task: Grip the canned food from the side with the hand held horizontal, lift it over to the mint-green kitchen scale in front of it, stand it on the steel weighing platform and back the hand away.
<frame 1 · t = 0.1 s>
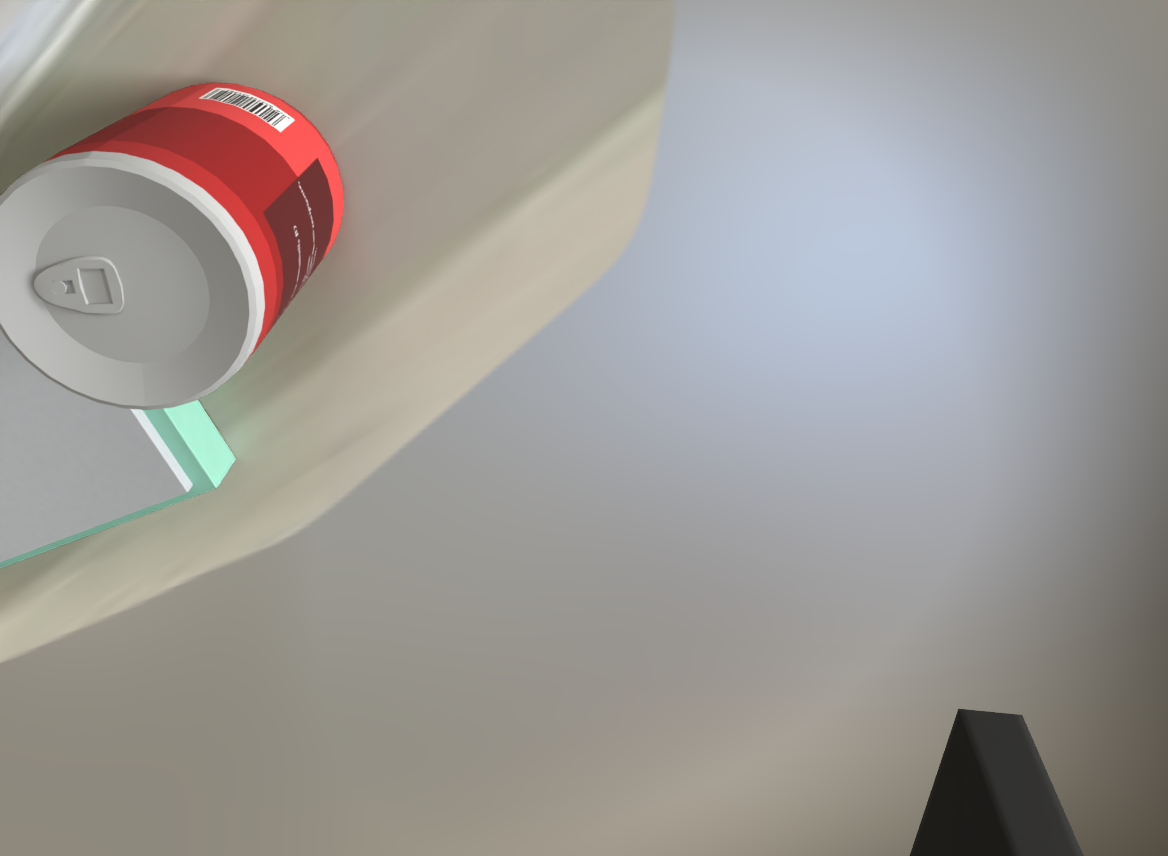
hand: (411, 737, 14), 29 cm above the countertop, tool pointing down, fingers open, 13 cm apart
scale: (26, 403, 46), on the countertop
canned food: (243, 182, 41), on the countertop
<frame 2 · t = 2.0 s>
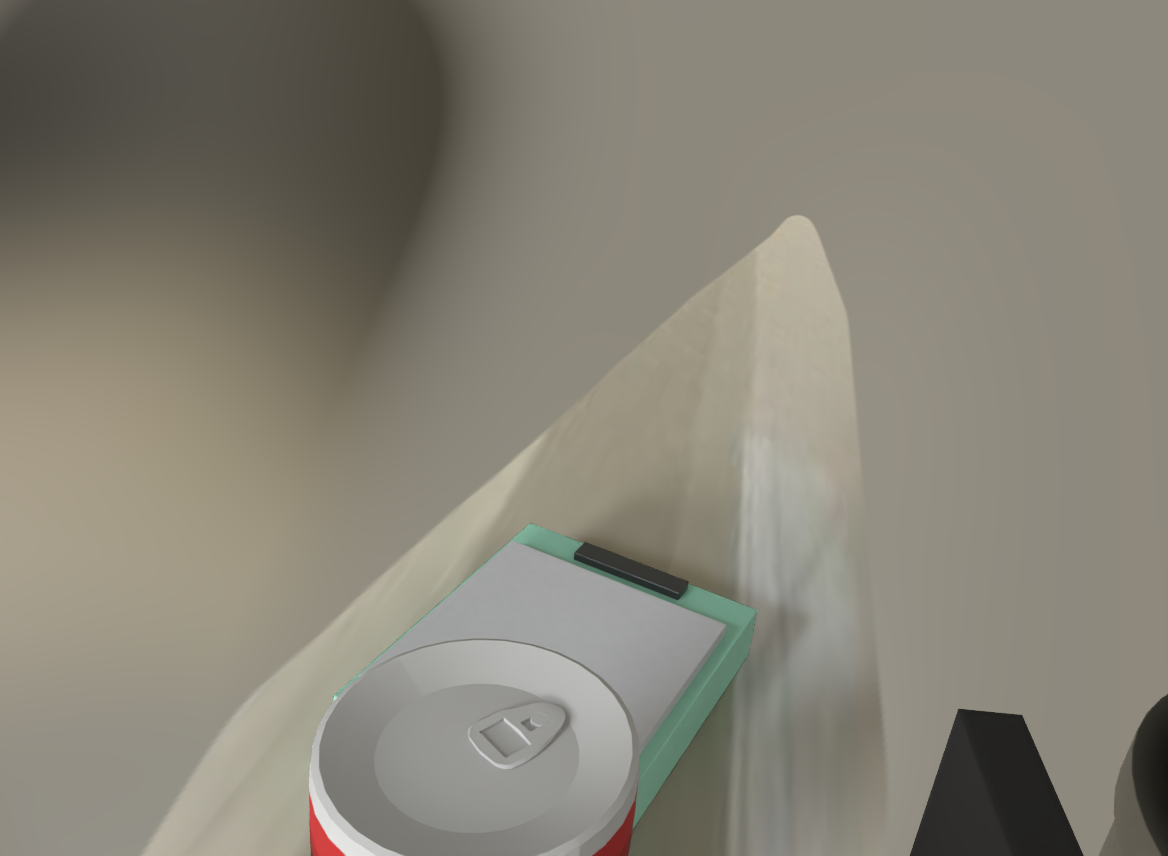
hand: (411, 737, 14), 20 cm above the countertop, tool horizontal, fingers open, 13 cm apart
scale: (556, 696, 44), on the countertop
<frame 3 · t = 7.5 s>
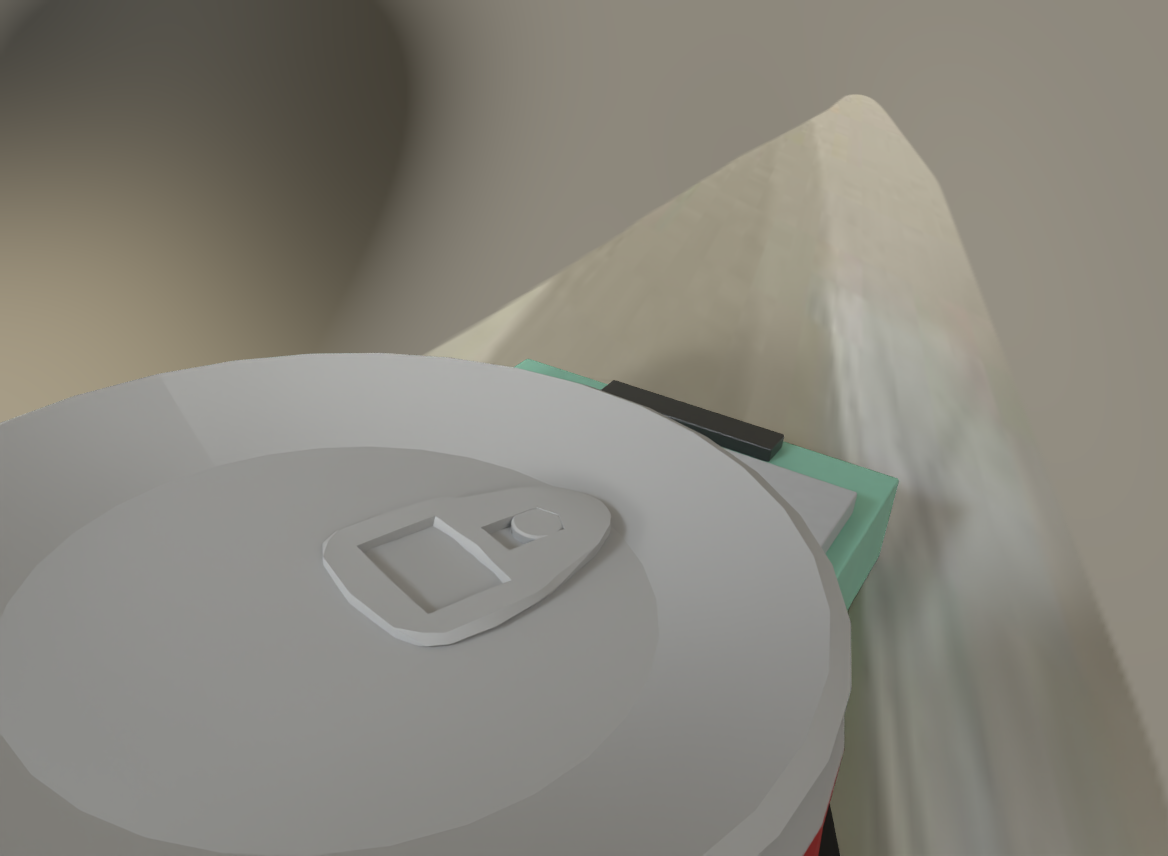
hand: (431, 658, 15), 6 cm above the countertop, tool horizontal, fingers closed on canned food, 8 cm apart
scale: (569, 612, 26), on the countertop
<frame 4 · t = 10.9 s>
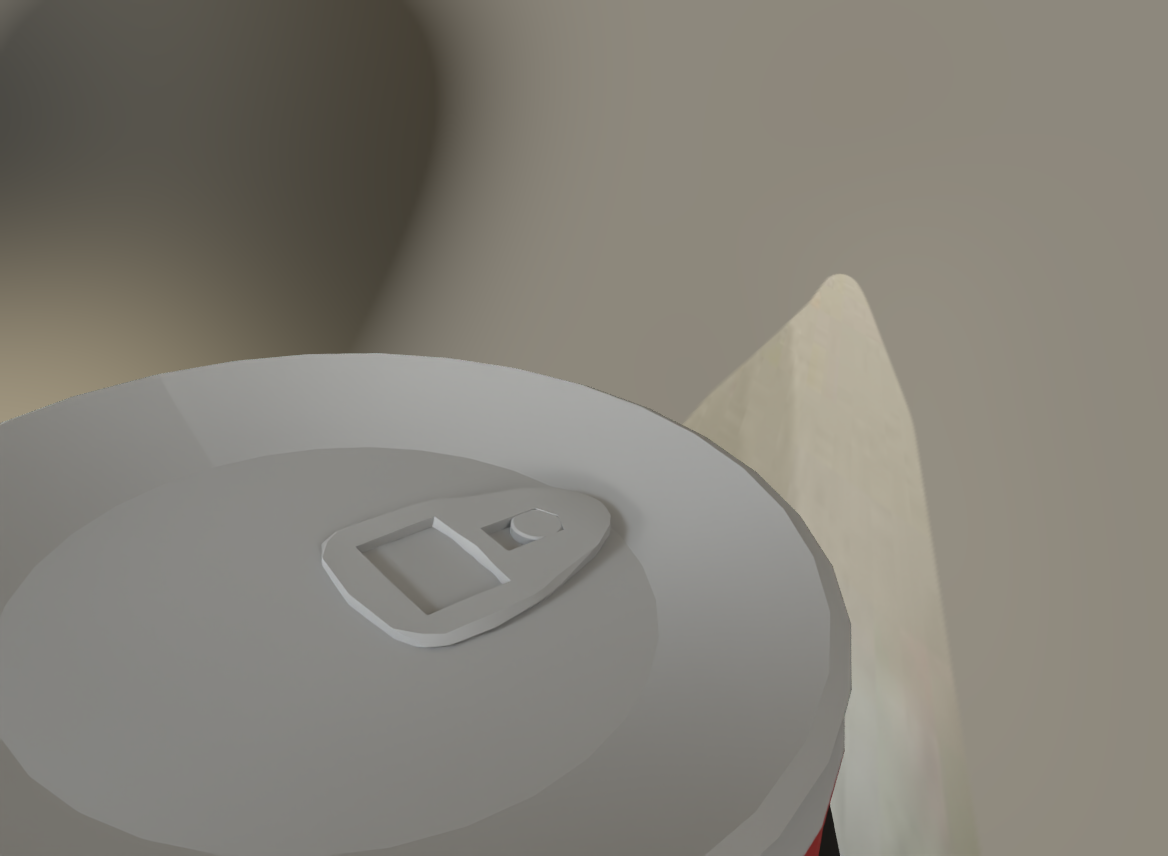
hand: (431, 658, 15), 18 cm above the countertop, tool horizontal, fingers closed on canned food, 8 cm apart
when the fingers open (9 cm above the countertop, at t = 14.6 s): canned food stays where it is, resting on scale.
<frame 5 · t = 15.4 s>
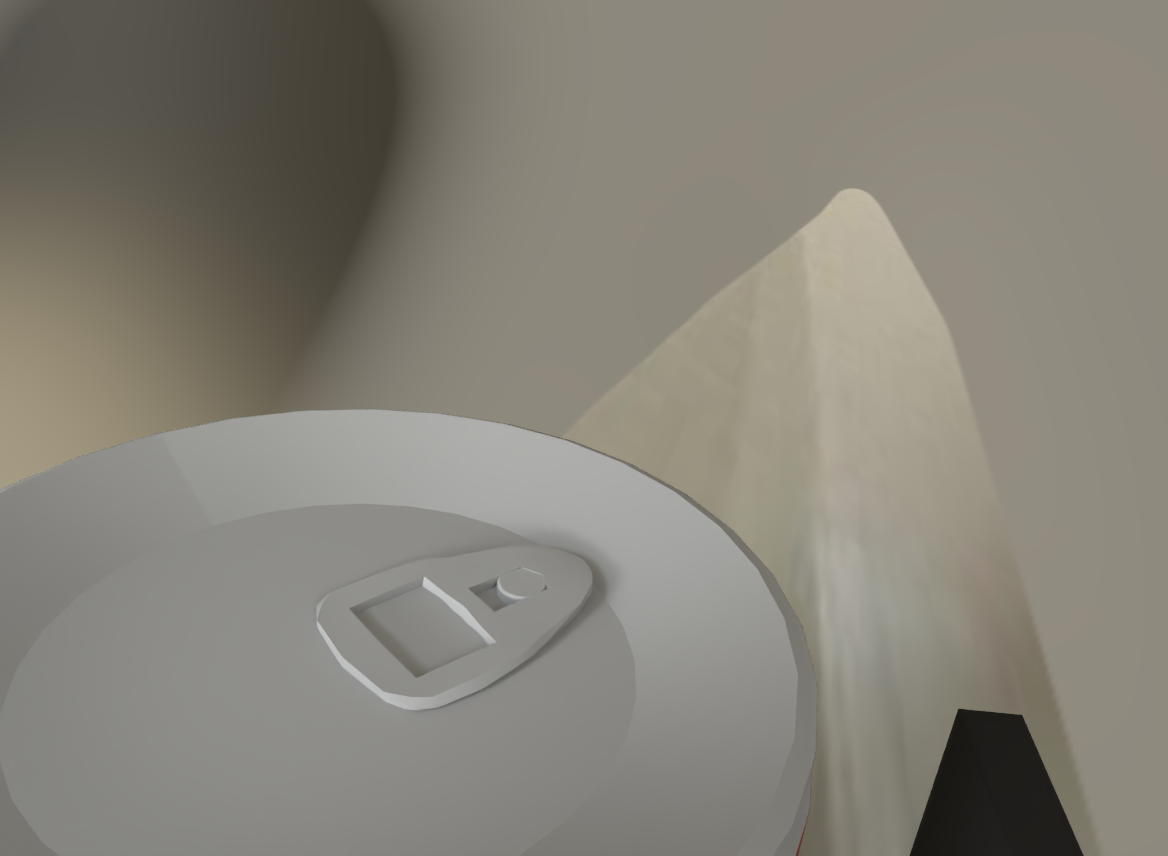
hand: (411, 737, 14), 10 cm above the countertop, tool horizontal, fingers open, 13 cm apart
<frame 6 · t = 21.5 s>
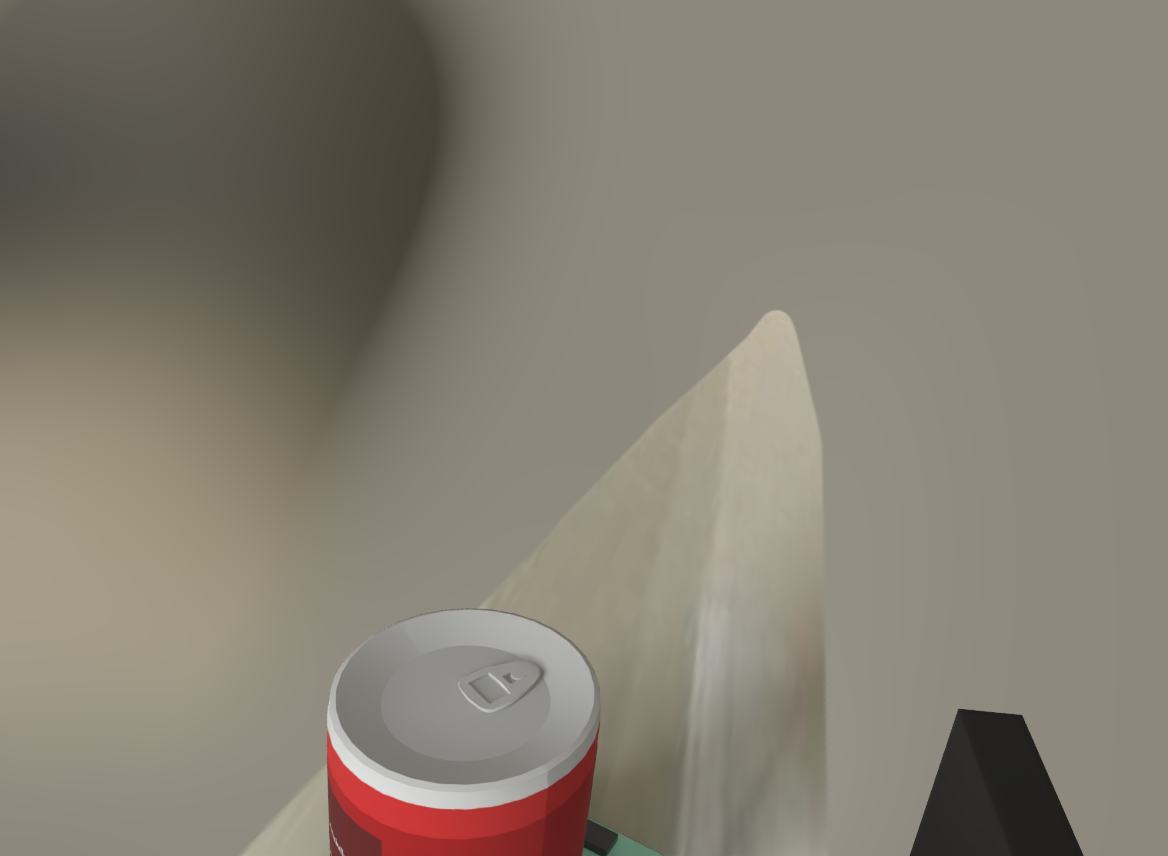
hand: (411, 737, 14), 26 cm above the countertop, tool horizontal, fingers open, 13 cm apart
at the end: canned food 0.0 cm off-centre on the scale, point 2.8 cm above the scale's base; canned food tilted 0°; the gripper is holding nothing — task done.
